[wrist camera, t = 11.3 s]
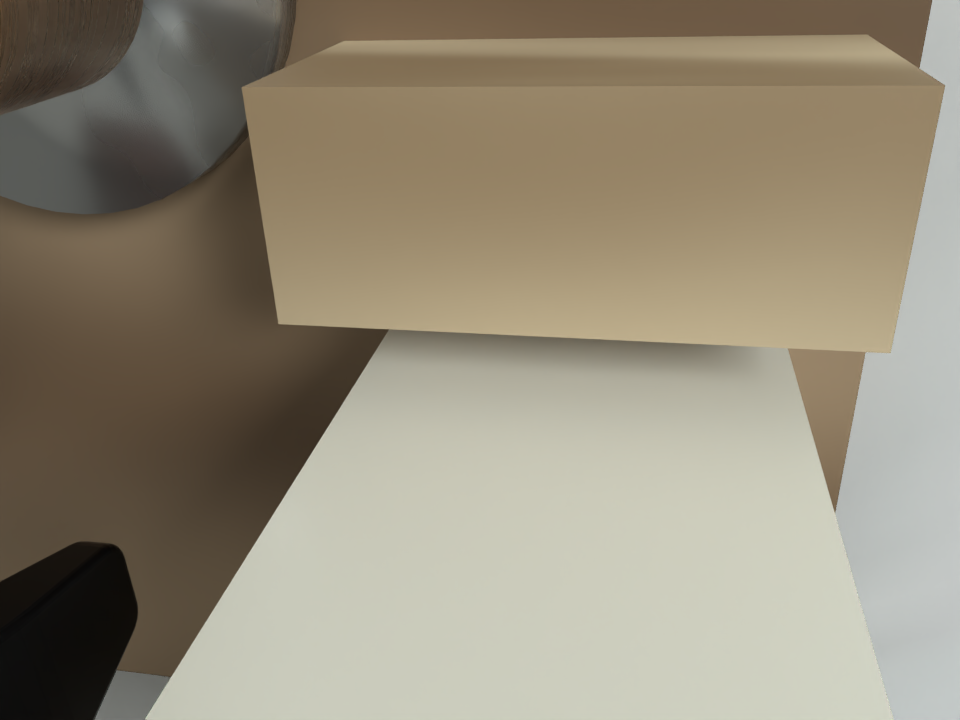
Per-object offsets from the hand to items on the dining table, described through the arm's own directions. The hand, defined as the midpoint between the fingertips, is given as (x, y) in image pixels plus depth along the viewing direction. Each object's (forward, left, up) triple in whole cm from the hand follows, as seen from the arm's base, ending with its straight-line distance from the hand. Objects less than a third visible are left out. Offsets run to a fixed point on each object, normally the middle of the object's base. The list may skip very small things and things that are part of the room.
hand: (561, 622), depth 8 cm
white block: (0, 0, -3) cm, 3 cm away
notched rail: (0, 0, -3) cm, 3 cm away
